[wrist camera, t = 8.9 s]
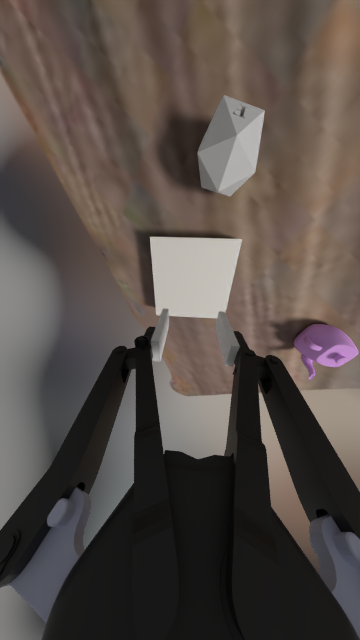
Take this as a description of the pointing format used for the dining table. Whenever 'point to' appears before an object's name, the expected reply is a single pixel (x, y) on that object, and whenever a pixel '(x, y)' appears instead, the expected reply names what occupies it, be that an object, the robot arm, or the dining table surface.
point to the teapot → (324, 347)
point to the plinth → (193, 274)
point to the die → (230, 146)
